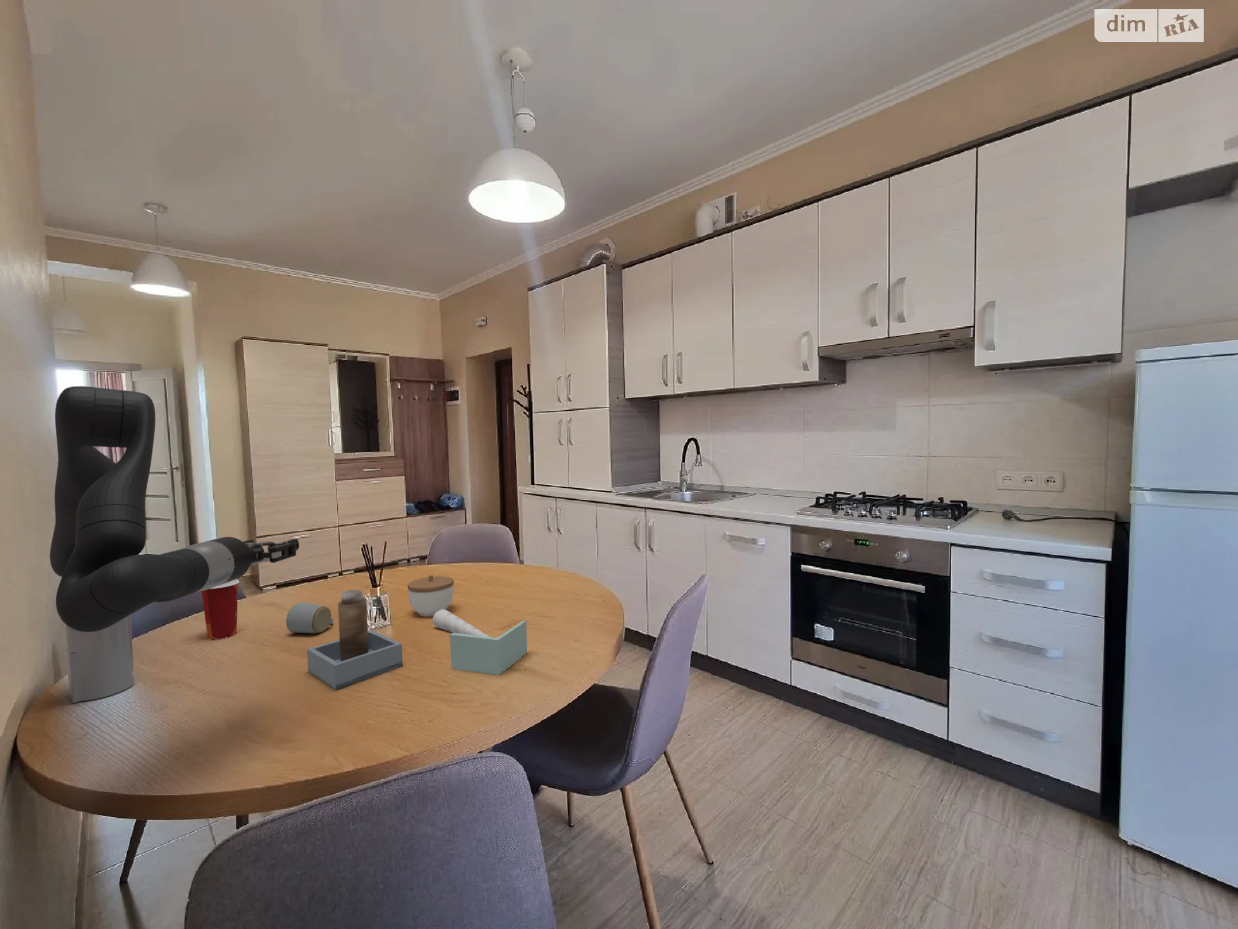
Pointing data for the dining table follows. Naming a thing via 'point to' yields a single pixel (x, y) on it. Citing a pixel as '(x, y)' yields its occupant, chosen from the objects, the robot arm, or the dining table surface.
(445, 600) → the lidded bowl
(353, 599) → the pepper mill
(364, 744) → the dining table surface
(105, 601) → the robot arm
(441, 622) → the unicorn horn
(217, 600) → the coffee cup
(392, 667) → the bin
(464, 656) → the right angle wall
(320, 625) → the ceramic mug
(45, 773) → the dining table surface
